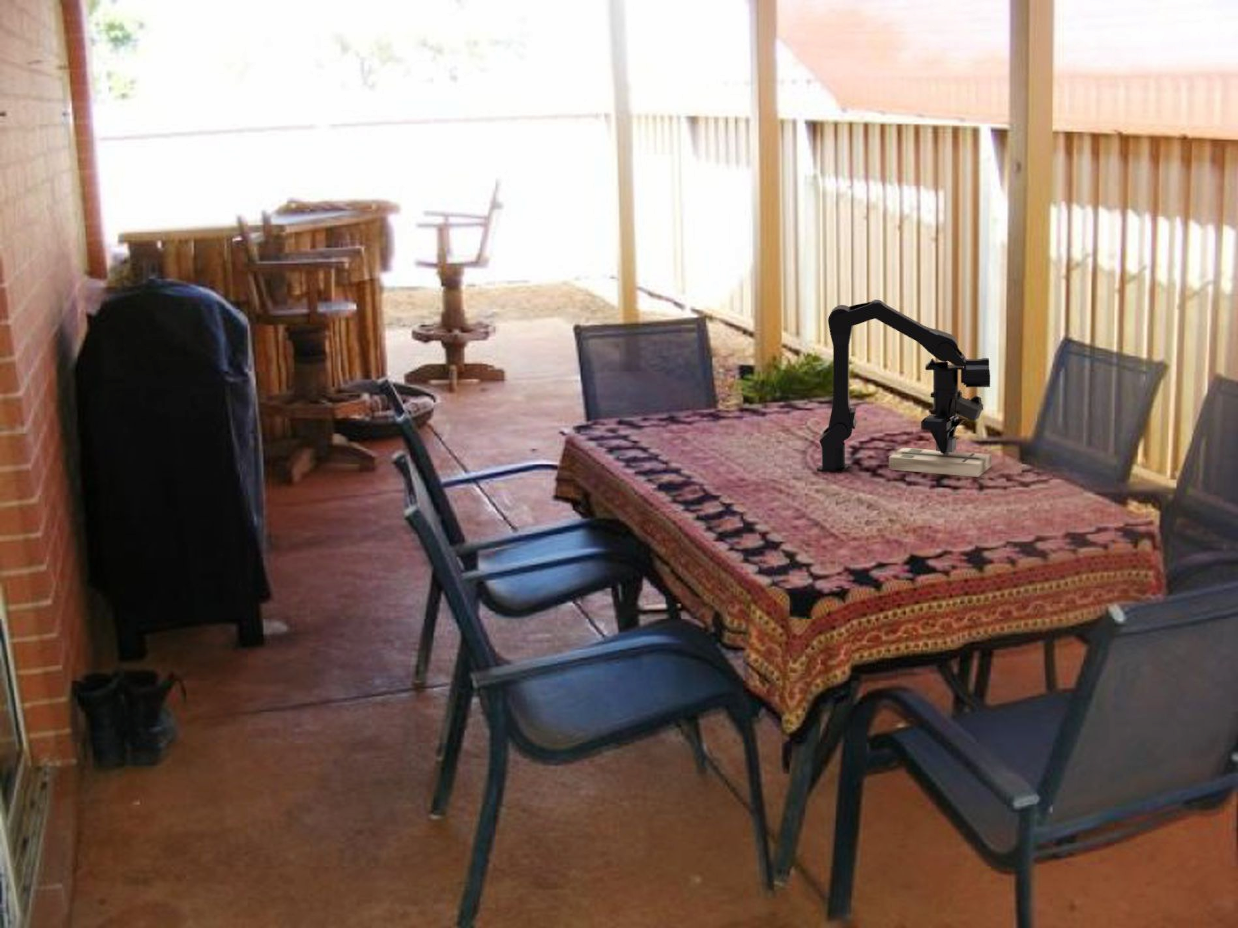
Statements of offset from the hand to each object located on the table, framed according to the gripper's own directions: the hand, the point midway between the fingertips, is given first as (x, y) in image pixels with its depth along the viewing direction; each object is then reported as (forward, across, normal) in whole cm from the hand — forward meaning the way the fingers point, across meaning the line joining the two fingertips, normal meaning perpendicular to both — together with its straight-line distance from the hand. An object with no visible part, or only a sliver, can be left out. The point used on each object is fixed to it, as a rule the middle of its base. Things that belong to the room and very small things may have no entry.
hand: (945, 451), depth 361 cm
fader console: (+4, 0, +2) cm, 4 cm away
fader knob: (+1, 0, 0) cm, 1 cm away
